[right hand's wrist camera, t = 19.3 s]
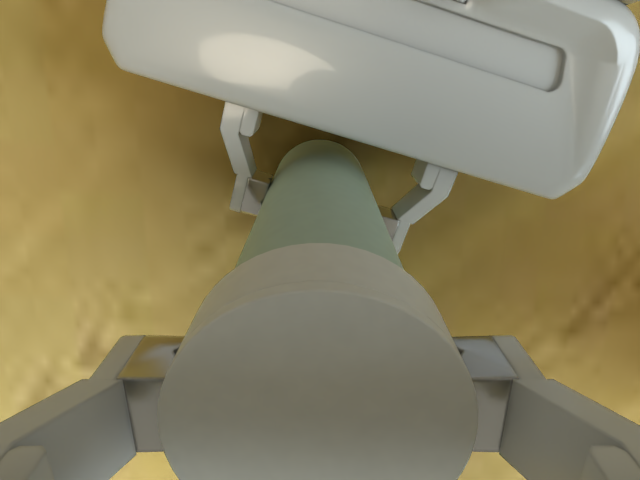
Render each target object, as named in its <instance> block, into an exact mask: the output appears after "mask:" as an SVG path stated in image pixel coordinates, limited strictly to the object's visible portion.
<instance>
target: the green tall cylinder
mask: <svg viewBox="0 0 640 480" xmlns="http://www.w3.org/2000/svg"><path fill="white" fill-rule="evenodd" d="M306 243H332V244H339V245H347V246H351V247H355V248H359V249H363V250H366V251H369V252H371V253H374V254H376V255H379V256H381V257H383V258H385V259H387V260H389V261H391V262H392V263H394V264H396V265H398V266H399V267H401V268H402V269H403V267H402V264H401V262H400V259H399V257H398V254H397V252H396V249H395V247H394V245H393V242H392V240H391V237H390V235H389V232H388V230H387V228H386V225H385V223H384V220H383V218H382V215H381V213H380V210H379V208H378V206H377V203H376V201H375V198H374V196H373V193H372V191H371V189H370V186H369V184H368V181H367V179H366V176H365V174H364V172H363V169H362V167H361V165H360V163H359V161H358V159H357V158H356V157H355V155H354V154H353V153H352V152H351V151H350V150H348V149H347V148H346V147H344V146H343V145H341V144H338V143H336V142H333V141H330V140H319V139H318V140H310V141H306V142H304V143H301V144H299V145H297V146H295V147H294V148H293V149H291V150H290V151H289V152H288V153H287V154H286V155H285V156H284V157H283V159H282V160H281V162H280V164H279V166H278V168H277V171H276V173H275V175H274V178H273V180H272V182H271V185H270V187H269V189H268V192H267V194H266V196H265V199H264V201H263V203H262V206H261V208H260V210H259V213H258V215H257V217H256V220H255V222H254V224H253V227H252V229H251V231H250V234H249V236H248V239H247V241H246V243H245V246H244V248H243V250H242V253H241V255H240V257H239V260H238V262H237V264H236V267H238V266H239V265H240V264H242V263H244V262H246V261H248V260H250V259H251V258H253V257H255V256H257V255H260V254H263V253H265V252H268V251H271V250H273V249H277V248H282V247H286V246H290V245H297V244H306ZM236 267H235V268H236ZM403 270H404V269H403Z"/></svg>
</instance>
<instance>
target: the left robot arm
mask: <svg viewBox="0 0 640 480" xmlns="http://www.w3.org/2000/svg"><path fill="white" fill-rule="evenodd" d="M637 1H640V0H107V1H106V6H105V12H104V18H103V26H102V35H103V39H104V42H105V44H106V46H107V48H108V50H109V52H110V54H111V56H112V57H113V59H114V61H115V63H116V64H117V66H118V67H119V68H120V69H122V70H124V71H127V72H130V73H133V74H136V75H140V76H143V77H146V78H150V79H153V80H156V81H160V82H163V83H166V84H170V85H173V86H176V87H179V88H183V89H186V90H189V91H193V92H196V93H199V94H203V95H206V96H209V97H213V98H216V99H219V100H223V101H225V106H224V111H223V115H222V120H221V125H220V131H221V134H222V137H223V140H224V143H225V146H226V150H227V153H228V156H229V159H230V162H231V165H232V168H233V171H234V173H235V174H237V176H236V181H235V185H234V189H233V194H232V198H231V202H230V210H233V211H236V212H239V213H240V212H241V213H244V214H248V215H252V216H256V217H257V215H258V213H259V210H260V208H261V206H262V203H263V201H264V199H265V196H266V194H267V192H268V189H269V187H270V185H271V181H272V178H273V175H272V174H268V173H265V172H262V171H259V170H257V168H256V164H255V160H254V157H253V153H252V149H251V146H250V142H249V138H248V137H250V136H252V135H253V134H254V133H255V132H256V131H257V130H258V129H259V127H260V123H261V119H262V115H263V113H266V114H269V115H272V116H275V117H279V118H282V119H285V120H289V121H292V122H295V123H299V124H302V125H305V126H309V127H312V128H315V129H319V130H322V131H325V132H328V133H332V134H335V135H338V136H342V137H345V138H348V139H352V140H355V141H358V142H362V143H365V144H368V145H371V146H375V147H378V148H381V149H385V150H388V151H391V152H395V153H398V154H401V155H405V156H408V157H411V158H415V159H416V161H415V164H414V167H413V170H412V173H411V175H412V177H413V178H414V180H415V181H416V182H417V183H418V184H417V185H416V186H415V187H414V188H413V189H411V190H410V191H409V192H408V193H407V194H406V195H405V196H404V197H403V198H402V199H400V200H399V201H398V202H397V203H396V204H395V205H394V206H393V207H392V209H391V208H387V207H383V206H379V205H377V206H378V208H379V210H380V213H381V215H382V218H383V220H384V223H385V225H386V228H387V230H388V232H389V235H390V237H391V240H392V242H393V245H394V247H395V249H396V252H397V254H398V253H399V252H400V249H401V247H402V244H403V242H404V239H405V236H406V234H407V231H408V229H409V226H410V224H414V223H415V222H417V221H418V220H419V219H420V218H422V217H423V216H424V215H426V214H427V213H428V212H429V211H431V210H432V209H433V208H434V207H436V206H437V205H438V204H439V203H441V202H442V201H443V200H444V199H446V198H447V197H448V196H449V193H450V191H451V188H452V186H453V184H454V181H455V179H456V176H457V174H458V172H461V173H464V174H468V175H471V176H474V177H477V178H481V179H484V180H487V181H491V182H494V183H497V184H501V185H504V186H507V187H511V188H514V189H517V190H520V191H524V192H527V193H530V194H534V195H537V196H540V197H544V198H547V199H556V198H558V197H560V196H562V195H564V194H566V193H567V192H569V191H570V190H572V189H574V188H575V187H577V186H578V185H580V184H581V183H582V182H583V181H584V180H585V178H586V177H587V176H588V174H589V172H590V171H591V169H592V167H593V165H594V164H595V162H596V160H597V158H598V156H599V154H600V152H601V150H602V148H603V146H604V144H605V142H606V140H607V137H608V135H609V133H610V131H611V129H612V127H613V124H614V122H615V120H616V118H617V115H618V113H619V111H620V108H621V106H622V104H623V101H624V99H625V96H626V94H627V91H628V89H629V86H630V83H631V81H632V78H633V75H634V72H635V69H636V66H637V62H638V58H639V53H640V30H639V25H638V22H637V20H636V18H635V16H634V14H633V13H632V12H631V10H630V9H629V8H628V7H627V6H626V5H628V4H631V3H634V2H637Z"/></svg>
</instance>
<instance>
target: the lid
mask: <svg viewBox="0 0 640 480" xmlns="http://www.w3.org/2000/svg"><path fill="white" fill-rule="evenodd" d="M158 428H159V435H160V440H161V443H162V447H163V450H164V453H165V456H166V458H167V460H168V462H169V464H170V466H171V468H172V470H173V471H174V473H175V474H176V475H177V477H178V478H179V480H457V479H458V477H459V476H460V475H461V473H462V472H463V470H464V468H465V466H466V464H467V462H468V460H469V458H470V456H471V453H472V450H473V447H474V444H475V441H476V435H477V429H478V402H477V396H476V391H475V388H474V385H473V382H472V379H471V376H470V373H469V371H468V369H467V367H466V365H465V363H464V361H463V359H462V357H461V355H460V353H459V351H458V349H457V347H456V345H455V343H454V341H453V338H452V336H451V334H450V332H449V330H448V328H447V326H446V324H445V322H444V320H443V318H442V316H441V314H440V312H439V310H438V308H437V306H436V305H435V303H434V301H433V300H432V298H431V297H430V295H429V294H428V293H427V291H426V290H425V289H424V288H423V287H422V286H421V285H420V284H419V283H418V282H417V281H416V280H415V279H414V278H413V277H412V276H411V275H410V274H409V273H407V272H406V271H405V270H403V269H402V268H401V267H399V266H398V265H396V264H394V263H392V262H391V261H389V260H387V259H385V258H383V257H381V256H379V255H376V254H374V253H371V252H369V251H366V250H363V249H359V248H355V247H351V246H347V245H339V244H332V243H306V244H297V245H290V246H286V247H282V248H277V249H273V250H271V251H268V252H265V253H263V254H260V255H257V256H255V257H253V258H251V259H250V260H248V261H246V262H244V263H242V264H240V265H239V266H238V267H236V268H235V269H233V270H232V271H231V272H229V273H228V274H226V275H225V276H224V277H223V278H222V279H221V280H220V281H219V282H218V283H217V284H216V285H215V286H214V287H213V289H212V290H211V291H210V292H209V294H208V295H207V296H206V298H205V299H204V301H203V302H202V304H201V306H200V308H199V309H198V311H197V313H196V315H195V317H194V319H193V321H192V323H191V325H190V327H189V329H188V331H187V333H186V335H185V337H184V339H183V341H182V343H181V345H180V347H179V349H178V351H177V353H176V355H175V357H174V359H173V361H172V363H171V365H170V367H169V369H168V371H167V373H166V376H165V379H164V381H163V384H162V387H161V391H160V396H159V402H158Z"/></svg>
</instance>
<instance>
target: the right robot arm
mask: <svg viewBox="0 0 640 480" xmlns="http://www.w3.org/2000/svg"><path fill="white" fill-rule="evenodd" d="M184 337H185V336H156V335H147V336H146V335H125V336H122V337H120V339H119V340H118V341H117V343H116V344H115V345H114V347H113V348H112V349H111V351H110V352H109V353H108V355H107V356H106V357H105V359H104V360H103V361H102V363H101V364H100V365H99V367H98V368H97V369H96V371H95V372H94V373H93V375H92V376H91V377H90V379H82V380H80V381H78V382H76V383H74V384H72V385H70V386H68V387H67V388H65V389H63V390H61V391H59V392H57V393H55V394H53V395H51V396H50V397H48V398H46V399H44V400H42V401H40V402H38V403H36V404H34V405H33V406H31V407H29V408H27V409H25V410H23V411H21V412H19V413H17V414H15V415H14V416H12V417H10V418H8V419H6V420H4V421H2V422H0V480H109V479H110V478H111V477H112V476H113V475H114V474H116V473H117V472H118V471H119V470H120V469H121V468H122V467H123V466H124V465H125V464H126V463H128V462H129V461H130V460H131V459H132V458H133V457H134V456H135V455H136V452H161V451H164V450H163V447H162V443H161V440H160V435H159V428H158V402H159V396H160V391H161V387H162V384H163V381H164V379H165V376H166V373H167V371H168V369H169V367H170V365H171V363H172V361H173V359H174V357H175V355H176V353H177V351H178V349H179V347H180V345H181V343H182V341H183V339H184ZM452 338H453V341H454V343H455V345H456V347H457V349H458V351H459V353H460V355H461V357H462V359H463V361H464V363H465V365H466V367H467V369H468V371H469V373H470V376H471V379H472V382H473V385H474V388H475V391H476V396H477V402H478V429H477V435H476V441H475V444H474V447H473V450H472V451H474V452H499V454H500V455H501V456H502V457H503V458H504V459H505V460H506V461H507V462H508V463H509V464H510V465H512V466H513V467H514V468H515V469H516V470H517V471H518V472H519V473H520V474H521V475H522V476H524V477H525V478H526V479H527V480H640V425H638V424H636V423H634V422H632V421H630V420H628V419H627V418H625V417H623V416H621V415H619V414H617V413H615V412H614V411H612V410H610V409H608V408H606V407H604V406H602V405H600V404H599V403H597V402H595V401H593V400H591V399H589V398H587V397H585V396H584V395H582V394H580V393H578V392H576V391H574V390H572V389H571V388H569V387H567V386H565V385H563V384H561V383H559V382H557V381H556V380H554V379H546V378H545V377H544V375H543V374H542V373H541V371H540V370H539V369H538V367H537V366H536V365H535V363H534V362H533V361H532V359H531V358H530V356H529V355H528V354H527V352H526V351H525V350H524V348H523V347H522V346H521V344H520V343H519V342H518V340H517V339H516V337H514V336H512V335H494V336H462V337H452Z"/></svg>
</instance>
